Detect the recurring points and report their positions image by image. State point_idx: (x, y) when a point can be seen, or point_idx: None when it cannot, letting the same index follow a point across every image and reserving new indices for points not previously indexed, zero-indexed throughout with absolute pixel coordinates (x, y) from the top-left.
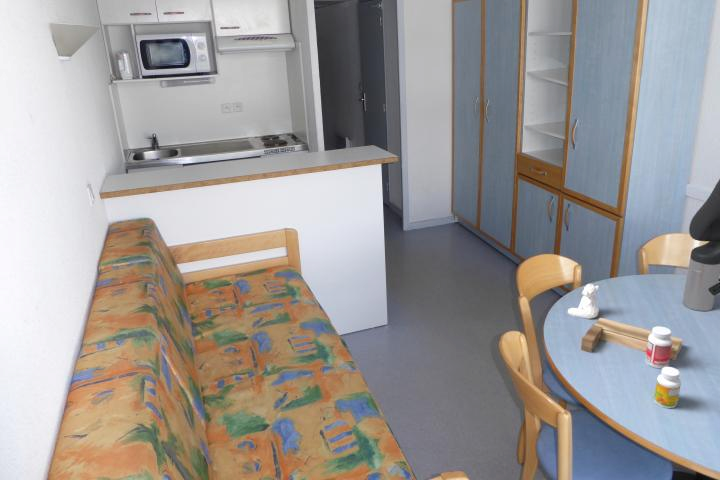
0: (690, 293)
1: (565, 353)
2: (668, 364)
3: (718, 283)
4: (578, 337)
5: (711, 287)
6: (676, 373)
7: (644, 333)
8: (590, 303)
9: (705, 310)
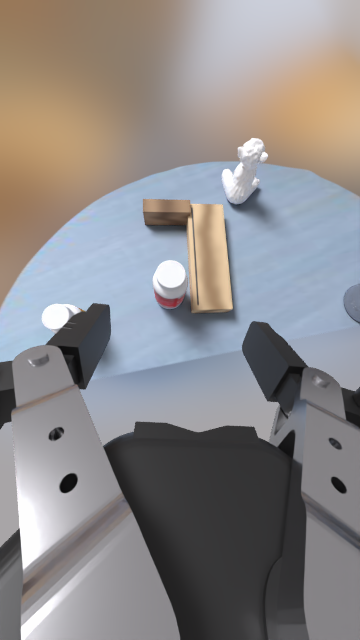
0: None
1: (125, 201)
2: (169, 308)
3: (65, 338)
4: None
5: (86, 312)
6: (52, 325)
7: (216, 262)
8: (237, 177)
9: (351, 316)
